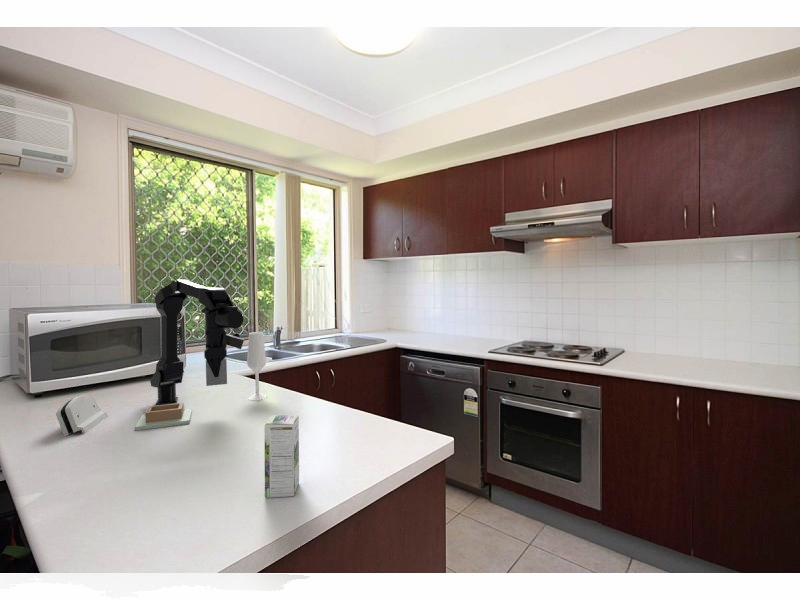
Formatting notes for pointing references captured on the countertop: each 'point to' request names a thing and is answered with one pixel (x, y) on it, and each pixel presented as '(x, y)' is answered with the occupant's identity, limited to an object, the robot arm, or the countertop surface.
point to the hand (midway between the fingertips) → (216, 375)
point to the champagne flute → (256, 359)
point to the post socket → (164, 416)
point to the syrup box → (281, 456)
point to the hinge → (79, 414)
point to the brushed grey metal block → (221, 378)
